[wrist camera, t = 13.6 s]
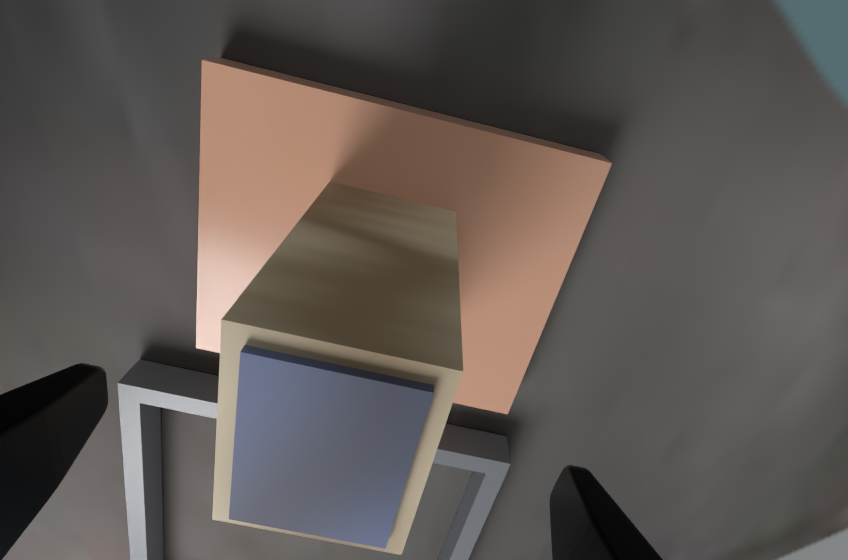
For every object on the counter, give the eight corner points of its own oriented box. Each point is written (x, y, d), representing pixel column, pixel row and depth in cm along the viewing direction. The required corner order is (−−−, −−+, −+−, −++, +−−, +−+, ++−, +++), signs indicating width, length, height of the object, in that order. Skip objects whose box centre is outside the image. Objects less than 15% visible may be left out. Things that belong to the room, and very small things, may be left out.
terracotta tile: (209, 330, 19) (196, 348, 18) (219, 57, 15) (201, 59, 13) (504, 393, 20) (507, 414, 19) (601, 154, 15) (612, 163, 14)
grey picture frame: (149, 581, 27) (134, 610, 26) (139, 359, 20) (117, 382, 19) (423, 630, 28) (422, 661, 27) (506, 436, 21) (510, 464, 20)
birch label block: (310, 316, 17) (208, 528, 10) (329, 181, 15) (216, 326, 8) (420, 340, 17) (400, 564, 10) (456, 211, 15) (463, 378, 8)
